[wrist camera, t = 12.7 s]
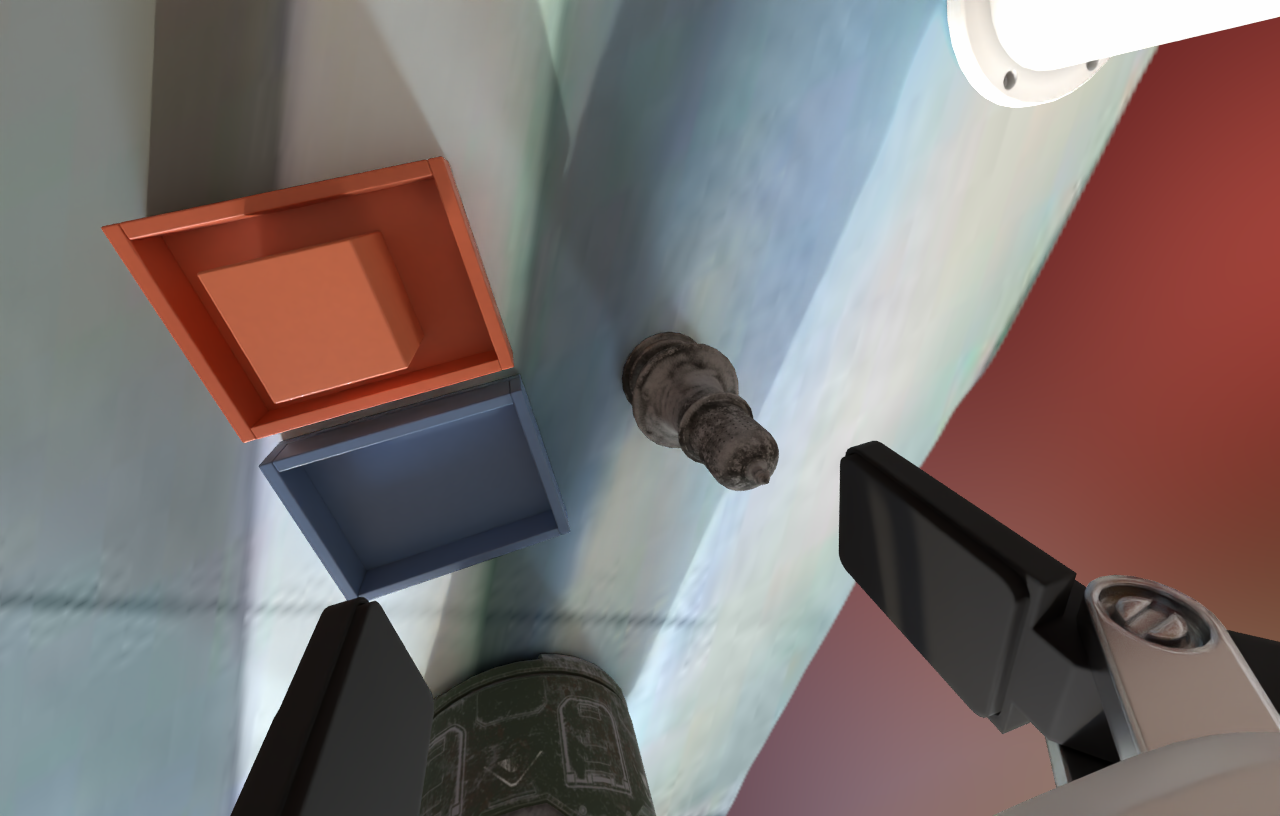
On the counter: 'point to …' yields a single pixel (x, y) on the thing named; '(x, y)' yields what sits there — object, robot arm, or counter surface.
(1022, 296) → the counter surface
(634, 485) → the counter surface
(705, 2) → the counter surface
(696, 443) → the dark chess piece
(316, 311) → the terracotta block
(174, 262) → the terracotta tray
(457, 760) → the canister
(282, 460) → the blue tray
